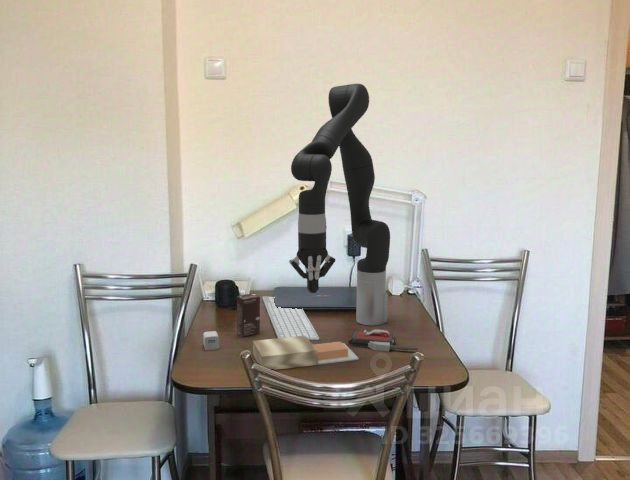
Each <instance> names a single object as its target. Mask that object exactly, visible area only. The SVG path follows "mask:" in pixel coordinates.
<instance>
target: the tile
mask: <svg viewBox="0 0 630 480" xmlns="http://www.w3.org/2000/svg"><path fill="white" fill-rule="evenodd" d="M342 343H343V342H342V341H332V342H325V343H316V344H313V346H314V347H315V348H316V349H317V350H318V360H324V359H332V358H340V357H348V348H349V347H348V346H347V345H346V344H345V345H346V346H347V347H348V348H347V347H346V346H345V345H343V344H342Z"/></svg>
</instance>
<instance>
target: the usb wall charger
mask: <svg viewBox="0 0 630 480" xmlns="http://www.w3.org/2000/svg"><path fill="white" fill-rule="evenodd" d="M219 339H220V338H219V335H218V332H217V331H216V330H214V331H213V330H212V331H205V332H203V333H202V341H203V347H204V350H205V351H213V350H219V348H220V340H219Z"/></svg>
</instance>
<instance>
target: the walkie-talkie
mask: <svg viewBox="0 0 630 480" xmlns="http://www.w3.org/2000/svg"><path fill="white" fill-rule="evenodd" d="M396 339H397V338H396V336H394V334H393V333H390V332H389V330H386V329H372V330H371V331H367V329H364V331H363V330H362V331H360V330H359V331H358V330H355V331H354V332H353V333H352V339H350V340H348V341H347V342H348V344H349V345H352V346H354V347H362V348H369V349H371V350H373V351H378V352H379V351H380V352H387V353H389V352H390V350H391V351H392V350H396V351H398V350H399V351H419V348H418V347H416V346H414V347H413V346H405V345H403V346H400V345H394V344H396V341H397V340H396Z"/></svg>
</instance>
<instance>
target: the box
mask: <svg viewBox="0 0 630 480" xmlns="http://www.w3.org/2000/svg"><path fill="white" fill-rule="evenodd" d="M260 297H261V296H259V295H258V294H255V293H247V294H242V295H237V296H236V334H237V335H239V336H240V337H242V338H243V337H248V336H254V335H260V332H261V330H260V329H261V328H260V327H261V325H260V324H261V319H260V318H261V317H260V316H261V314H260V311H261V298H260Z"/></svg>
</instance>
